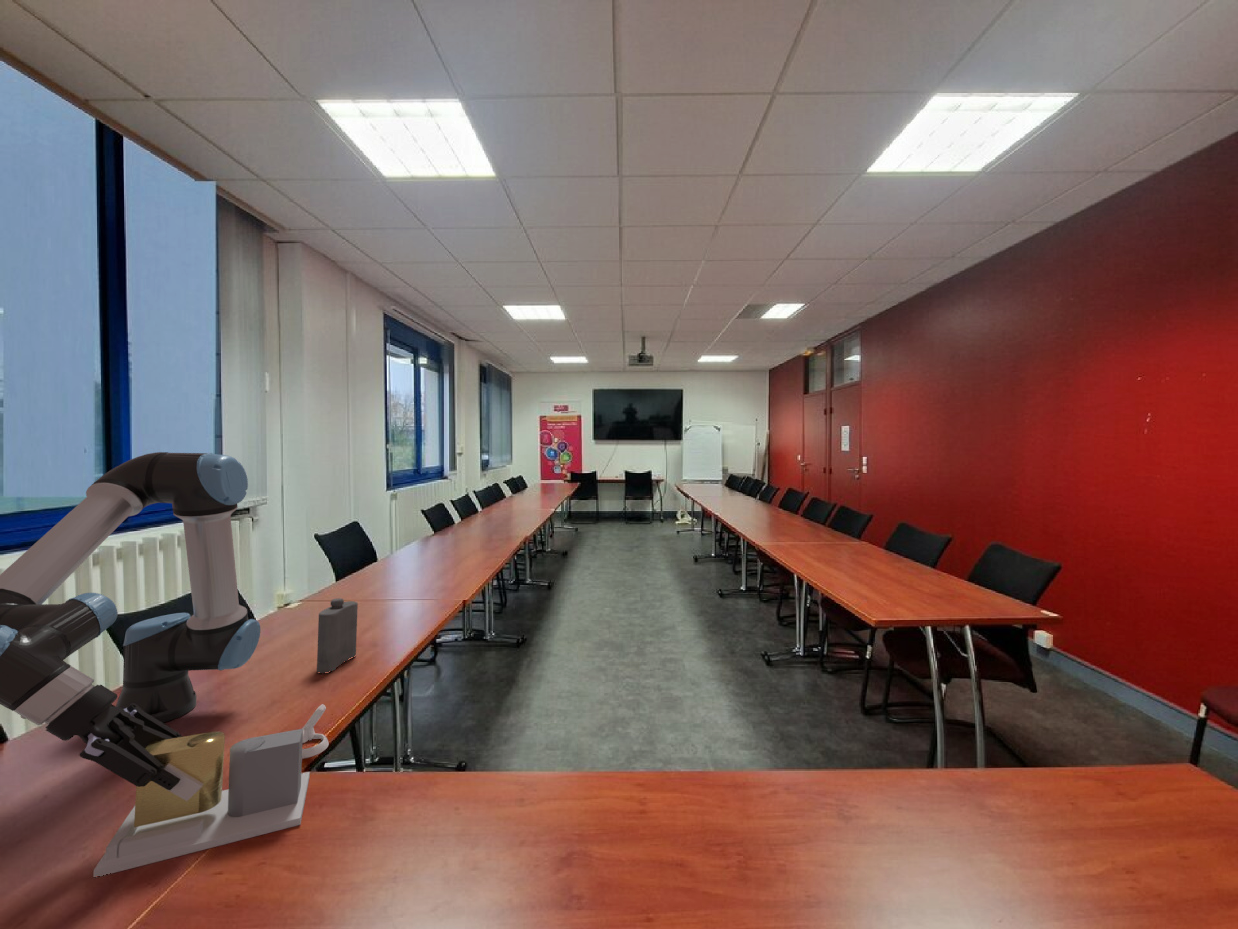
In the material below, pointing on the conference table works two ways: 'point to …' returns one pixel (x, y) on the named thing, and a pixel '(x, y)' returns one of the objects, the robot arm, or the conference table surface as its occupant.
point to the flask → (336, 634)
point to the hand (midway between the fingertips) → (200, 782)
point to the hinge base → (224, 807)
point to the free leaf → (195, 759)
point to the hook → (310, 734)
